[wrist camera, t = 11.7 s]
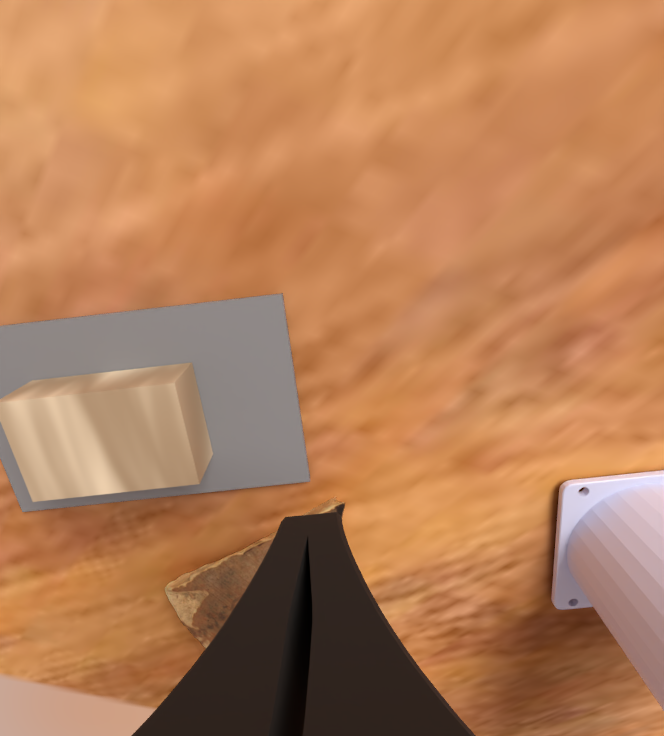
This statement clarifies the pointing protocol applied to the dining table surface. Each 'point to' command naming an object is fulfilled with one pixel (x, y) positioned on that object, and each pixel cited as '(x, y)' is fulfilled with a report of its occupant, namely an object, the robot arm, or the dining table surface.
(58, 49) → the dining table surface
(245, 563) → the shard
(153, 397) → the beech block
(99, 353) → the felt mat
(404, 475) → the dining table surface
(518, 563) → the dining table surface
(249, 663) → the robot arm
